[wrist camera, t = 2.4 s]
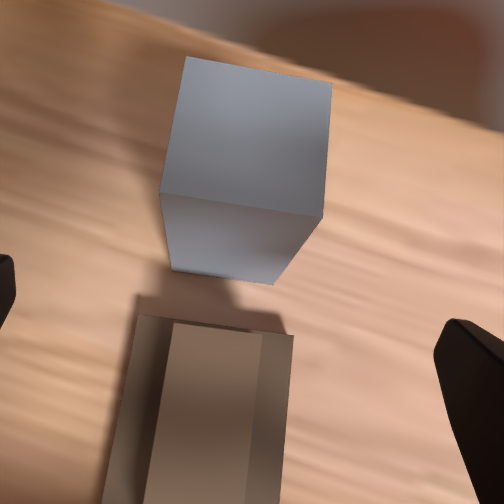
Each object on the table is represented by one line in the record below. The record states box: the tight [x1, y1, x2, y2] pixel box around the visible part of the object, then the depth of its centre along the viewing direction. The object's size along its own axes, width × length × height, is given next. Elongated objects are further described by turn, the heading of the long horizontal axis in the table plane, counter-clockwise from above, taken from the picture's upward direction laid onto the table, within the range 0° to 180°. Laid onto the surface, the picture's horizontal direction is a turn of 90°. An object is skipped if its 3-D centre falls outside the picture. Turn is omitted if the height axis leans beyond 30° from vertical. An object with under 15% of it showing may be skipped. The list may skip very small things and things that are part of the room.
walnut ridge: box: [101, 314, 294, 504], centre depth 18 cm, size 9×7×4 cm
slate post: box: [159, 56, 332, 285], centre depth 19 cm, size 5×5×9 cm
